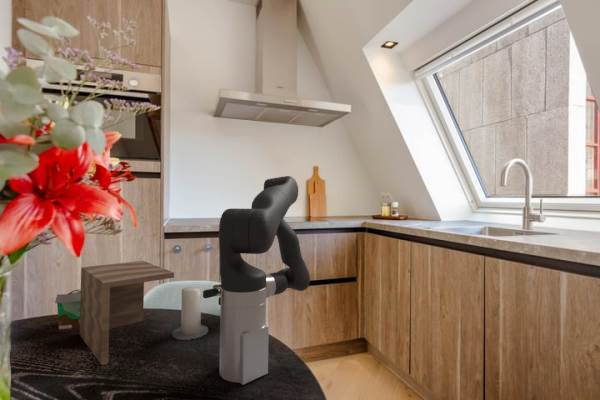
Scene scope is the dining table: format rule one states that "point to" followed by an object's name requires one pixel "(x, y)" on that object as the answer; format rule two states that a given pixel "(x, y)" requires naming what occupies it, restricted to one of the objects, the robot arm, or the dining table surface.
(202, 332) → the grey coaster
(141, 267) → the walnut cubby
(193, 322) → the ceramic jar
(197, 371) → the dining table surface
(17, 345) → the dining table surface
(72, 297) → the food container
